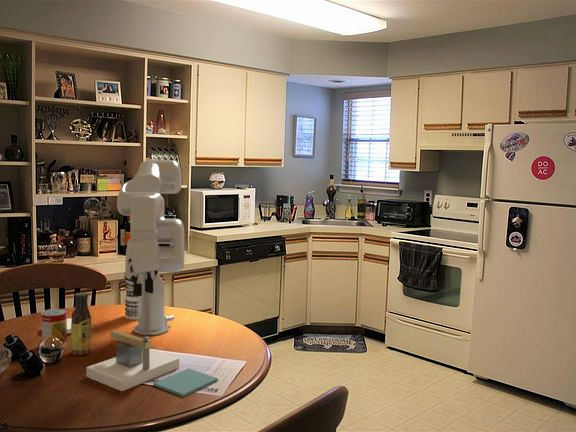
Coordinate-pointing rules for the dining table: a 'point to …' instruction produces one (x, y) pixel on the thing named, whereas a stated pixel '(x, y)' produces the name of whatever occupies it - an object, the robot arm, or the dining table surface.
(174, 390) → the mat
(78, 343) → the sauce bottle
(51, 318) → the canned food
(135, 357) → the grey stone cube
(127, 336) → the lever
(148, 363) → the white slab
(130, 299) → the decorative candle
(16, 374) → the dining table surface
